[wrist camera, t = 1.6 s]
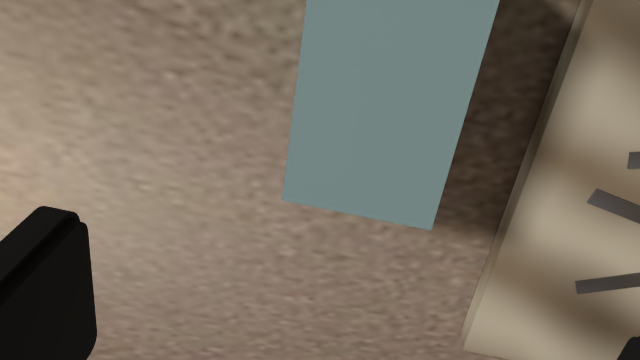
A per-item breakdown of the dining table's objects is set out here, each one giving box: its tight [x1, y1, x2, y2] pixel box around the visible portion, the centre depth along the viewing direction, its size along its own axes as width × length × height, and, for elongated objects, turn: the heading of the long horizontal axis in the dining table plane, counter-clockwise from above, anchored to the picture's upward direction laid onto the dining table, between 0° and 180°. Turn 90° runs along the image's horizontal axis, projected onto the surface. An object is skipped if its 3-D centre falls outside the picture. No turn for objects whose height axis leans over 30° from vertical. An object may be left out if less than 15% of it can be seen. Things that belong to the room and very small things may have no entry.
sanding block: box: [282, 0, 500, 230], centre depth 22 cm, size 10×6×7 cm, turn 172°
